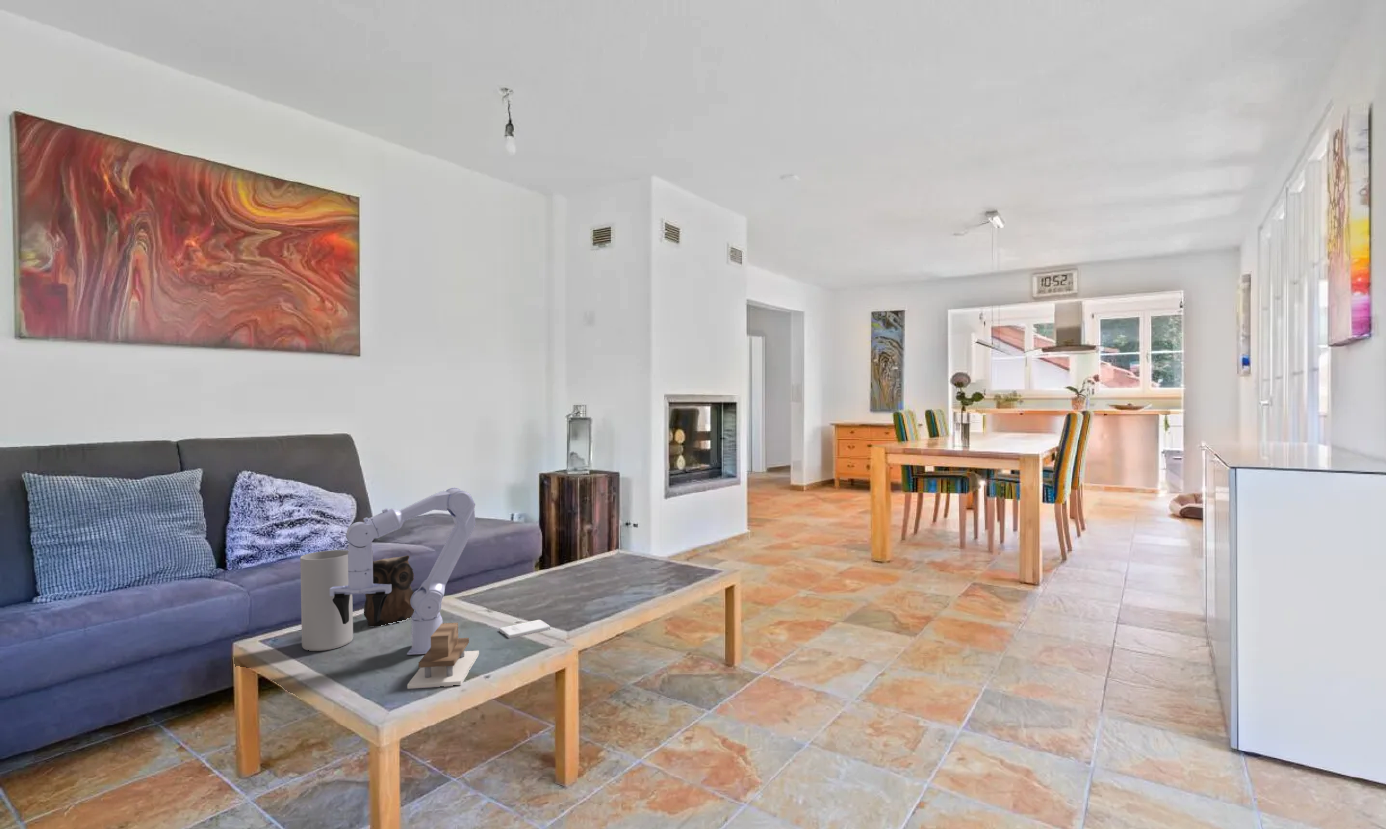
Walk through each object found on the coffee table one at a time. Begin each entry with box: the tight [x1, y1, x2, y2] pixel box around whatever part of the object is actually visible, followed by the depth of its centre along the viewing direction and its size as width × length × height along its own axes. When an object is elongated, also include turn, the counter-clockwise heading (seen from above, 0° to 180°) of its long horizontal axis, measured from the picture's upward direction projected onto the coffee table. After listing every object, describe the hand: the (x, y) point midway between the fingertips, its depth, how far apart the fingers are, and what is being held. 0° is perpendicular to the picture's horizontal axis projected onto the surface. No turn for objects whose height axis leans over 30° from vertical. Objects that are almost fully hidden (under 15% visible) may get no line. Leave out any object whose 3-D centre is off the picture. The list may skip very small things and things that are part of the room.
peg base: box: [407, 650, 480, 690], centre depth 163 cm, size 20×12×4 cm, turn 7°
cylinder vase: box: [299, 549, 354, 652], centre depth 183 cm, size 12×12×25 cm
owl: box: [363, 555, 415, 627], centre depth 202 cm, size 13×13×20 cm
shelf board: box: [418, 622, 470, 669], centre depth 162 cm, size 16×8×6 cm, turn 7°
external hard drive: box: [498, 619, 551, 639], centre depth 192 cm, size 2×8×12 cm
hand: (361, 622), depth 169 cm, fingers open, 7 cm apart
